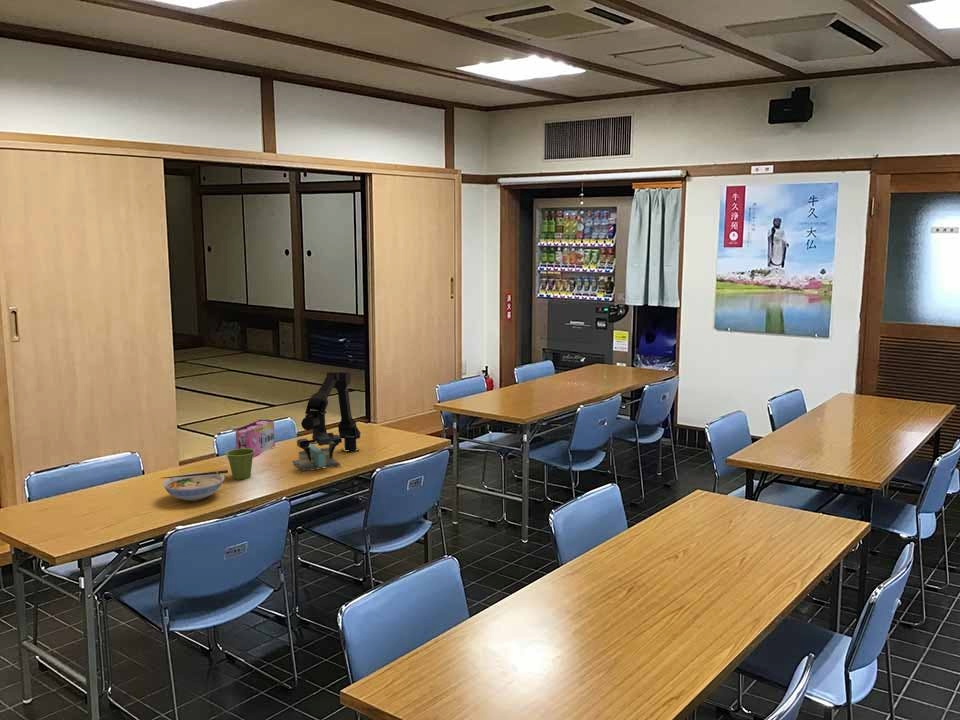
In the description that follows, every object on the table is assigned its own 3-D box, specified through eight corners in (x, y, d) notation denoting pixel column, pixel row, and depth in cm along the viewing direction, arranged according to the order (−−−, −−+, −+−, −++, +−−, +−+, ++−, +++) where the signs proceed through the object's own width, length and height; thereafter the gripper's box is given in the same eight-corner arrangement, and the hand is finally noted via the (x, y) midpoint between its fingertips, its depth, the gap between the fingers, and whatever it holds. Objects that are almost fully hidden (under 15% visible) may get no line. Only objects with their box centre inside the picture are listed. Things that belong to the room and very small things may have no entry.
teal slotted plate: (307, 458, 366) (307, 445, 365) (314, 457, 368) (313, 444, 367) (319, 467, 350) (318, 454, 350) (325, 466, 352) (325, 453, 351)
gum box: (249, 459, 370) (247, 431, 368) (234, 458, 372) (232, 430, 370) (275, 447, 393) (274, 420, 391) (261, 446, 395) (259, 419, 393)
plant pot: (223, 482, 334) (222, 455, 333) (232, 474, 346) (230, 448, 345) (252, 481, 335) (250, 455, 333) (259, 473, 346) (258, 448, 345)
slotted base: (292, 463, 362) (292, 447, 361) (329, 457, 370) (328, 443, 369) (302, 471, 348) (301, 455, 347) (340, 465, 356) (339, 450, 355)
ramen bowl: (157, 510, 299) (155, 489, 297) (164, 493, 320) (162, 473, 319) (227, 504, 305) (226, 483, 304) (229, 487, 327) (228, 467, 326)
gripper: (302, 431, 340) (304, 467, 342) (345, 426, 348) (346, 461, 350) (295, 426, 349) (297, 461, 352) (337, 421, 358) (338, 455, 360)
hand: (320, 460), depth 353 cm, fingers open, 9 cm apart
